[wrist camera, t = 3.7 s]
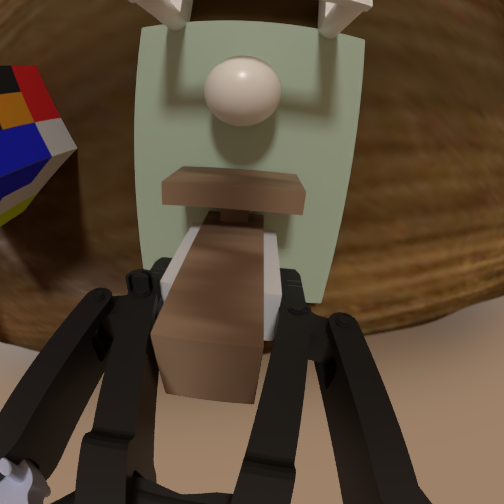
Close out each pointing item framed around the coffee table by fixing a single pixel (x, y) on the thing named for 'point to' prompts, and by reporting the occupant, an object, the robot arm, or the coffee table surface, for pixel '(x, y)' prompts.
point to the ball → (242, 90)
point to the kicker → (220, 282)
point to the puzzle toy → (27, 139)
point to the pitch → (255, 136)
